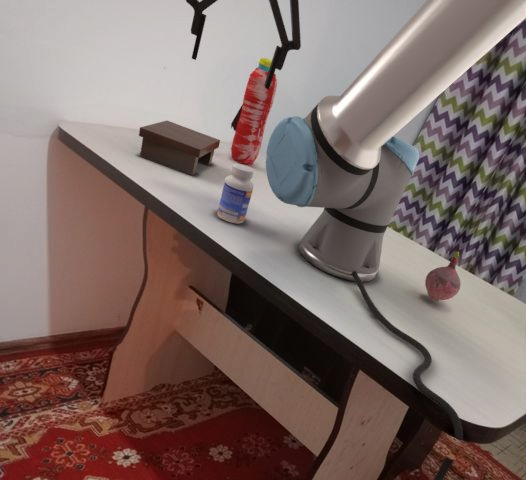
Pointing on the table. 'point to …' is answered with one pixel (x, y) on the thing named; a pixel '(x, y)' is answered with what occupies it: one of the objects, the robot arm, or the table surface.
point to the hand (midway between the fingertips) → (231, 73)
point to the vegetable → (443, 281)
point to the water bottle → (253, 115)
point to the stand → (177, 146)
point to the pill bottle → (236, 194)
